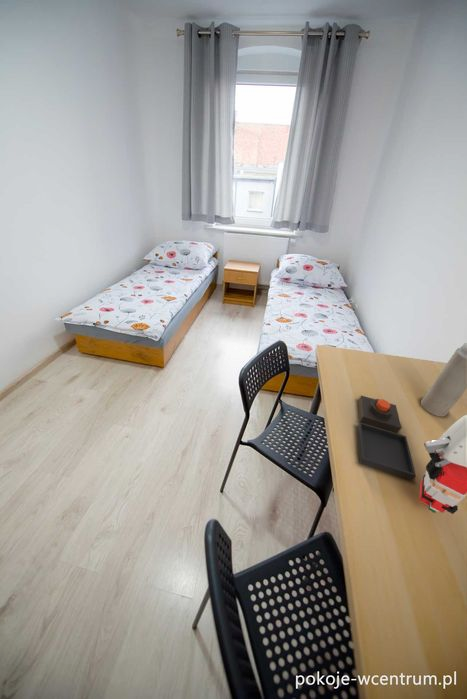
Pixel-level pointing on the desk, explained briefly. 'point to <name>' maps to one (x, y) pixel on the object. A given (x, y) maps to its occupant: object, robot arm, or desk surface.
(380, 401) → the button
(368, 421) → the console
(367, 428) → the tray
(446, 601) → the desk surface
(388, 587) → the desk surface
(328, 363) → the desk surface
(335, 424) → the desk surface
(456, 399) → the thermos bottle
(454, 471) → the figurine
